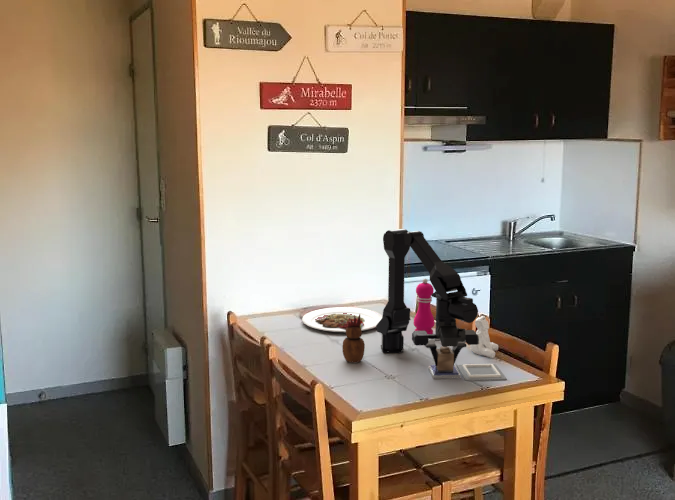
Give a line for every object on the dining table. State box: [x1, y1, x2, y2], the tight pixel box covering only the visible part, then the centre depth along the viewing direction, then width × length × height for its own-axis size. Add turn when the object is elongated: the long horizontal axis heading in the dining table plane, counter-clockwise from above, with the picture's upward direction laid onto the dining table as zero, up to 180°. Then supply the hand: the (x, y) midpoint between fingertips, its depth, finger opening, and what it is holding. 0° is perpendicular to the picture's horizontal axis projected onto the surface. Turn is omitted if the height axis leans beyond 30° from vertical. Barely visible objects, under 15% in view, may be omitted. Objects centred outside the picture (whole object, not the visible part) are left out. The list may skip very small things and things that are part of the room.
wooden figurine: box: [342, 314, 366, 364], centre depth 221 cm, size 7×6×15 cm
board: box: [456, 363, 508, 382], centre depth 212 cm, size 12×12×1 cm
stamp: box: [436, 345, 455, 372], centre depth 211 cm, size 4×4×6 cm
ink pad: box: [427, 364, 462, 380], centre depth 211 cm, size 8×8×1 cm
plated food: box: [301, 306, 383, 333], centre depth 262 cm, size 30×30×3 cm
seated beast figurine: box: [469, 315, 499, 359], centre depth 229 cm, size 10×9×12 cm
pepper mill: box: [413, 278, 436, 334], centre depth 246 cm, size 7×7×20 cm
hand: (444, 365), depth 211 cm, fingers closed on stamp, 4 cm apart
